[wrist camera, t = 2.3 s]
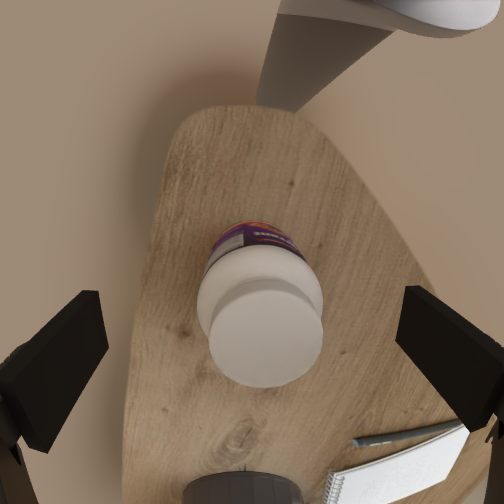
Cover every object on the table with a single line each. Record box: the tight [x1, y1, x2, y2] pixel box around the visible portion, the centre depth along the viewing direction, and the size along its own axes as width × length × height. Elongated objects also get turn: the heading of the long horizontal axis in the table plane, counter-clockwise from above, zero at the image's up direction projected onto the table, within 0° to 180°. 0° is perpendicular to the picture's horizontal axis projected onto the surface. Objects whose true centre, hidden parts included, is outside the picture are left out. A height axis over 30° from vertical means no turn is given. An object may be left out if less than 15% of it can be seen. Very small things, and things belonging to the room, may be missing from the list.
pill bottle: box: [197, 221, 323, 388], centre depth 15 cm, size 5×5×10 cm
